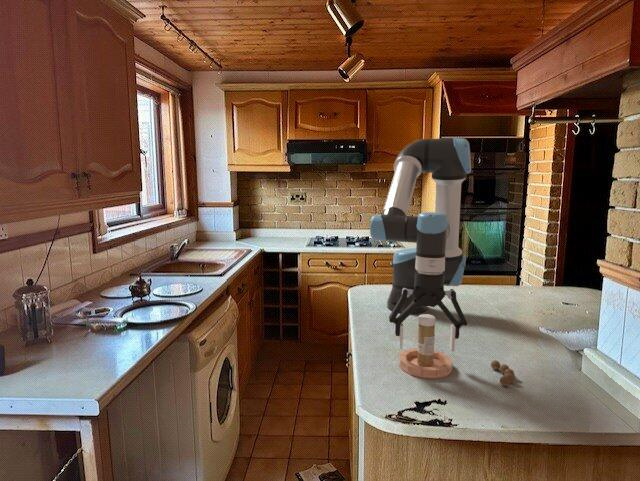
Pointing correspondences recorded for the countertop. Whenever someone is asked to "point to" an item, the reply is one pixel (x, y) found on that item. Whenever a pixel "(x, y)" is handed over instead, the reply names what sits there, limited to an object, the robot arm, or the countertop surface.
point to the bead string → (506, 371)
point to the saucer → (437, 370)
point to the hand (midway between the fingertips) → (426, 348)
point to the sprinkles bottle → (426, 339)
